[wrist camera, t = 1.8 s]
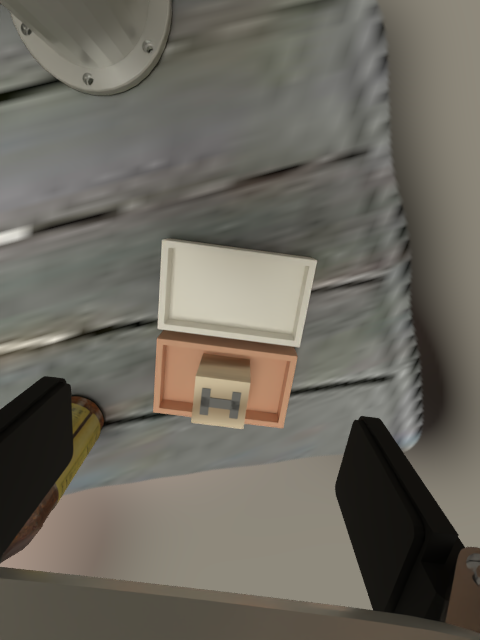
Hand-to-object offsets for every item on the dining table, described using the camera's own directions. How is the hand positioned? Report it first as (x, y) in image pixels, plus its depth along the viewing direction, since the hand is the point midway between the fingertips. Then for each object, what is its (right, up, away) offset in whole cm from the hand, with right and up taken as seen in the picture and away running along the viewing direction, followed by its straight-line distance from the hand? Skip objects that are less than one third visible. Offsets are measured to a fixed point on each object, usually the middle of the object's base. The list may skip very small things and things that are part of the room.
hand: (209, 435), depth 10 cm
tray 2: (-1, -2, +24) cm, 24 cm away
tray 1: (0, +7, +21) cm, 22 cm away
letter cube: (-1, -2, +23) cm, 24 cm away
